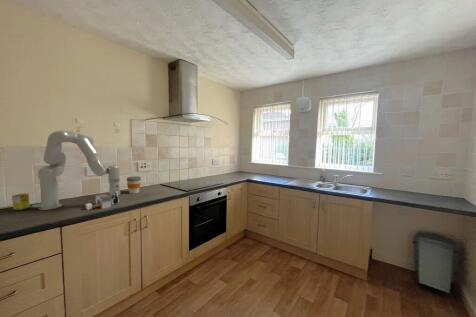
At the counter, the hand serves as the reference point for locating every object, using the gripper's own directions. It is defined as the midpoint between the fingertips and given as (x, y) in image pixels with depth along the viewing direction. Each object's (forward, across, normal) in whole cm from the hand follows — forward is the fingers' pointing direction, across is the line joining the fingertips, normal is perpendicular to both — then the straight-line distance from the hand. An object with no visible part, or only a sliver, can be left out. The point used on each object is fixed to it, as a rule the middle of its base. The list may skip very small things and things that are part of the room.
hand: (114, 202), depth 161 cm
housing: (+1, 0, +8) cm, 8 cm away
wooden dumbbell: (+1, 0, +8) cm, 8 cm away
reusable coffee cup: (+1, +26, -27) cm, 37 cm away
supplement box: (+1, +34, +49) cm, 60 cm away
